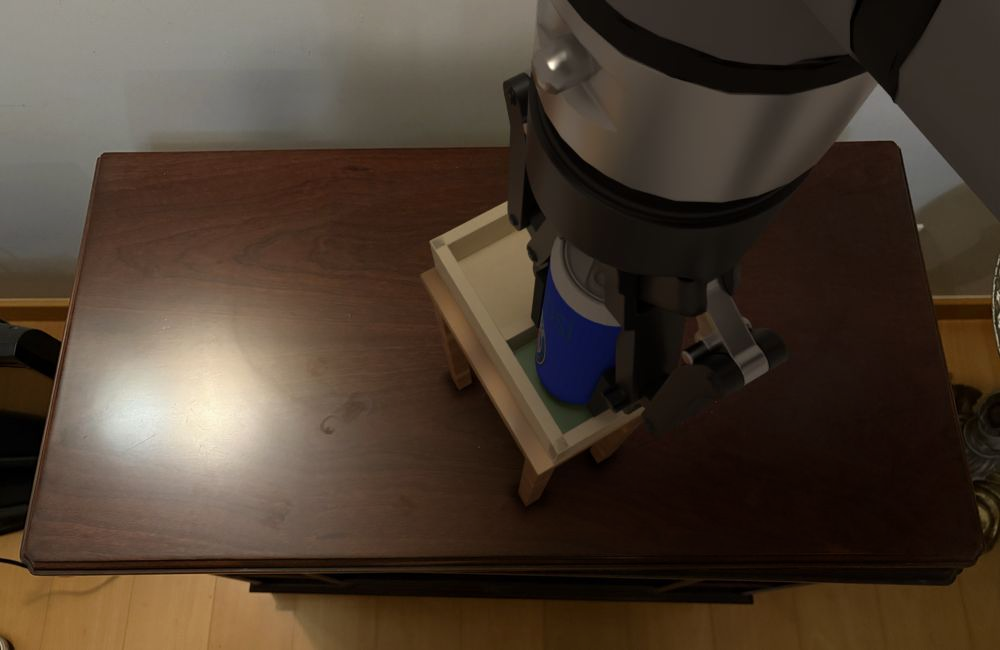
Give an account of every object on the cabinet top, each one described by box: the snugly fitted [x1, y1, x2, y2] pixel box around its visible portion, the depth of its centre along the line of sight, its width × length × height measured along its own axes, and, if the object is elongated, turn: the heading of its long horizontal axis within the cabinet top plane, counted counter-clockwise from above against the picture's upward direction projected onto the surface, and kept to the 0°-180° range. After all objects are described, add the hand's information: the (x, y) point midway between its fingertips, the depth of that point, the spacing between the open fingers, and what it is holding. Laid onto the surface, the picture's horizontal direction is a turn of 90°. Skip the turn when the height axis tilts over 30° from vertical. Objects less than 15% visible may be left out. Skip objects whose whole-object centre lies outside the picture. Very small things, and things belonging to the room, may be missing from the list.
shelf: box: [419, 266, 643, 507], centre depth 57 cm, size 15×10×26 cm, turn 30°
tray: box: [429, 200, 645, 464], centre depth 43 cm, size 15×8×4 cm, turn 30°
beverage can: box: [535, 236, 622, 405], centre depth 34 cm, size 5×5×15 cm
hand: (582, 354), depth 39 cm, fingers closed on beverage can, 5 cm apart
